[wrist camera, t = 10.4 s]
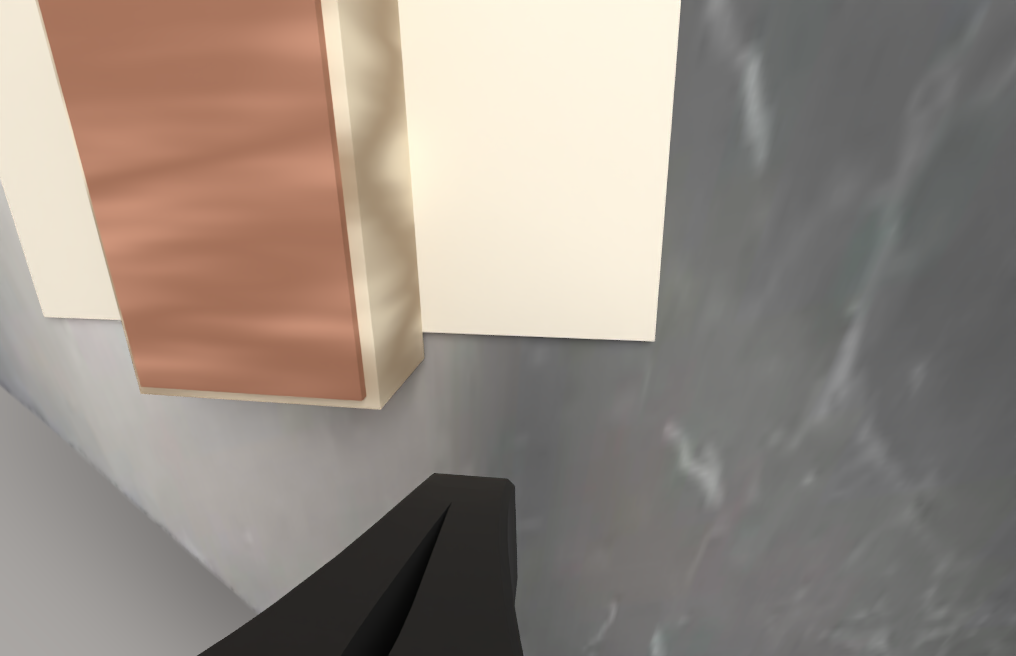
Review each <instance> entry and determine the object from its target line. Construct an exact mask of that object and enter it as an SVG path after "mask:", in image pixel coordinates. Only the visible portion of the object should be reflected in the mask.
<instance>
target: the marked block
mask: <svg viewBox="0 0 1016 656" xmlns="http://www.w3.org/2000/svg"><path fill="white" fill-rule="evenodd" d="M35 1H36V5H37V8H38V12H39V16H40V20H41V23H42V27H43V31H44V35H45V38H46V42H47V46H48V49H49V53H50V57H51V61H52V64H53V68H54V72H55V76H56V79H57V83H58V87H59V90H60V94H61V98H62V102H63V105H64V109H65V113H66V117H67V120H68V124H69V128H70V131H71V135H72V139H73V143H74V146H75V150H76V154H77V158H78V161H79V165H80V169H81V172H82V176H83V180H84V184H85V187H86V191H87V195H88V199H89V202H90V206H91V210H92V213H93V217H94V221H95V225H96V228H97V232H98V236H99V240H100V243H101V247H102V251H103V254H104V258H105V262H106V266H107V269H108V273H109V277H110V281H111V284H112V288H113V292H114V295H115V299H116V303H117V307H118V310H119V314H120V318H121V322H122V325H123V329H124V333H125V336H126V340H127V344H128V348H129V351H130V355H131V359H132V363H133V366H134V370H135V374H136V377H137V381H138V385H139V389H140V392H141V394H153V395H168V396H183V397H198V398H214V399H229V400H244V401H259V402H274V403H289V404H304V405H319V406H334V407H349V408H364V409H379V410H381V409H382V408H383V407H384V405H385V404H386V403H387V402H388V401H389V399H390V398H391V397H392V396H393V395H394V394H395V392H396V391H397V390H398V389H399V388H400V386H401V385H402V384H403V383H404V382H405V381H406V379H407V378H408V377H409V376H410V375H411V373H412V372H413V371H414V370H415V369H416V368H417V366H418V365H419V364H420V363H421V362H422V360H423V359H424V346H423V332H422V319H421V305H420V292H419V278H418V265H417V251H416V238H415V224H414V211H413V197H412V184H411V170H410V157H409V143H408V130H407V116H406V103H405V89H404V76H403V62H402V49H401V35H400V22H399V8H398V0H35Z"/></svg>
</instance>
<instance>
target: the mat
mask: <svg viewBox="0 0 1016 656" xmlns="http://www.w3.org/2000/svg"><path fill="white" fill-rule="evenodd" d="M680 5H681V0H398V8H399V22H400V35H401V49H402V62H403V76H404V89H405V103H406V116H407V130H408V143H409V157H410V170H411V184H412V197H413V211H414V224H415V238H416V251H417V265H418V278H419V292H420V305H421V319H422V332H434V333H459V334H484V335H509V336H534V337H559V338H584V339H609V340H634V341H655V329H656V316H657V303H658V290H659V277H660V264H661V251H662V238H663V225H664V212H665V199H666V186H667V173H668V161H669V148H670V135H671V122H672V109H673V96H674V83H675V70H676V57H677V44H678V31H679V18H680ZM0 179H1V182H2V185H3V189H4V192H5V195H6V198H7V201H8V204H9V207H10V211H11V214H12V217H13V220H14V223H15V226H16V230H17V233H18V236H19V239H20V242H21V245H22V248H23V252H24V255H25V258H26V261H27V264H28V267H29V270H30V274H31V277H32V280H33V283H34V286H35V289H36V293H37V296H38V299H39V302H40V305H41V308H42V311H43V315H44V317H58V318H83V319H108V320H121V318H120V314H119V310H118V307H117V303H116V299H115V295H114V292H113V288H112V284H111V281H110V277H109V273H108V269H107V266H106V262H105V258H104V254H103V251H102V247H101V243H100V240H99V236H98V232H97V228H96V225H95V221H94V217H93V213H92V210H91V206H90V202H89V199H88V195H87V191H86V187H85V184H84V180H83V176H82V172H81V169H80V165H79V161H78V158H77V154H76V150H75V146H74V143H73V139H72V135H71V131H70V128H69V124H68V120H67V117H66V113H65V109H64V105H63V102H62V98H61V94H60V90H59V87H58V83H57V79H56V76H55V72H54V68H53V64H52V61H51V57H50V53H49V49H48V46H47V42H46V38H45V35H44V31H43V27H42V23H41V20H40V16H39V12H38V8H37V5H36V1H35V0H0Z"/></svg>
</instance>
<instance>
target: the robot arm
mask: <svg viewBox="0 0 1016 656" xmlns="http://www.w3.org/2000/svg"><path fill="white" fill-rule="evenodd" d="M516 586H517V544H516V509H515V486H514V485H513V484H512V483H511V482H510V481H509V480H508V479H503V478H490V477H477V476H464V475H451V474H438V473H434V474H433V475H431V476H430V477H429V478H428V479H426V480H425V481H424V482H423V483H422V484H421V485H419V486H418V487H417V488H416V489H415V490H414V491H412V492H411V493H410V494H409V495H408V496H407V497H405V498H404V499H403V500H402V501H401V502H400V503H399V504H397V505H396V506H395V507H394V508H393V509H392V510H391V511H389V512H388V513H387V514H386V515H385V516H384V517H382V518H381V519H380V520H379V521H378V522H377V523H375V524H374V525H373V526H372V527H371V528H370V529H368V530H367V531H366V532H365V533H364V534H362V535H361V536H360V537H359V538H358V539H356V540H355V541H354V542H353V543H352V544H350V545H349V546H348V547H347V548H346V549H344V550H343V551H342V552H341V553H340V554H338V555H337V556H336V557H335V558H333V559H332V560H331V561H329V562H328V563H327V564H325V565H324V566H323V567H321V568H320V569H319V570H318V571H316V572H315V573H314V574H312V575H311V576H310V577H308V578H307V579H306V580H304V581H303V582H302V583H301V584H299V585H298V586H297V587H295V588H294V589H293V590H291V591H290V592H289V593H287V594H286V595H285V596H284V597H282V598H281V599H280V600H278V601H277V602H276V603H274V604H273V605H271V606H270V607H269V608H267V609H266V610H264V611H263V612H262V613H260V614H259V615H257V616H256V617H255V618H253V619H252V620H250V621H249V622H248V623H246V624H245V625H243V626H242V627H240V628H239V629H238V630H236V631H234V632H233V633H231V634H230V635H228V636H227V637H225V638H224V639H222V640H221V641H219V642H217V643H216V644H214V645H213V646H211V647H210V648H208V649H207V650H205V651H204V652H202V653H201V654H199V655H198V656H523V651H522V646H521V641H520V635H519V630H518V624H517V618H516V612H515V606H514V605H515V595H516Z"/></svg>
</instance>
